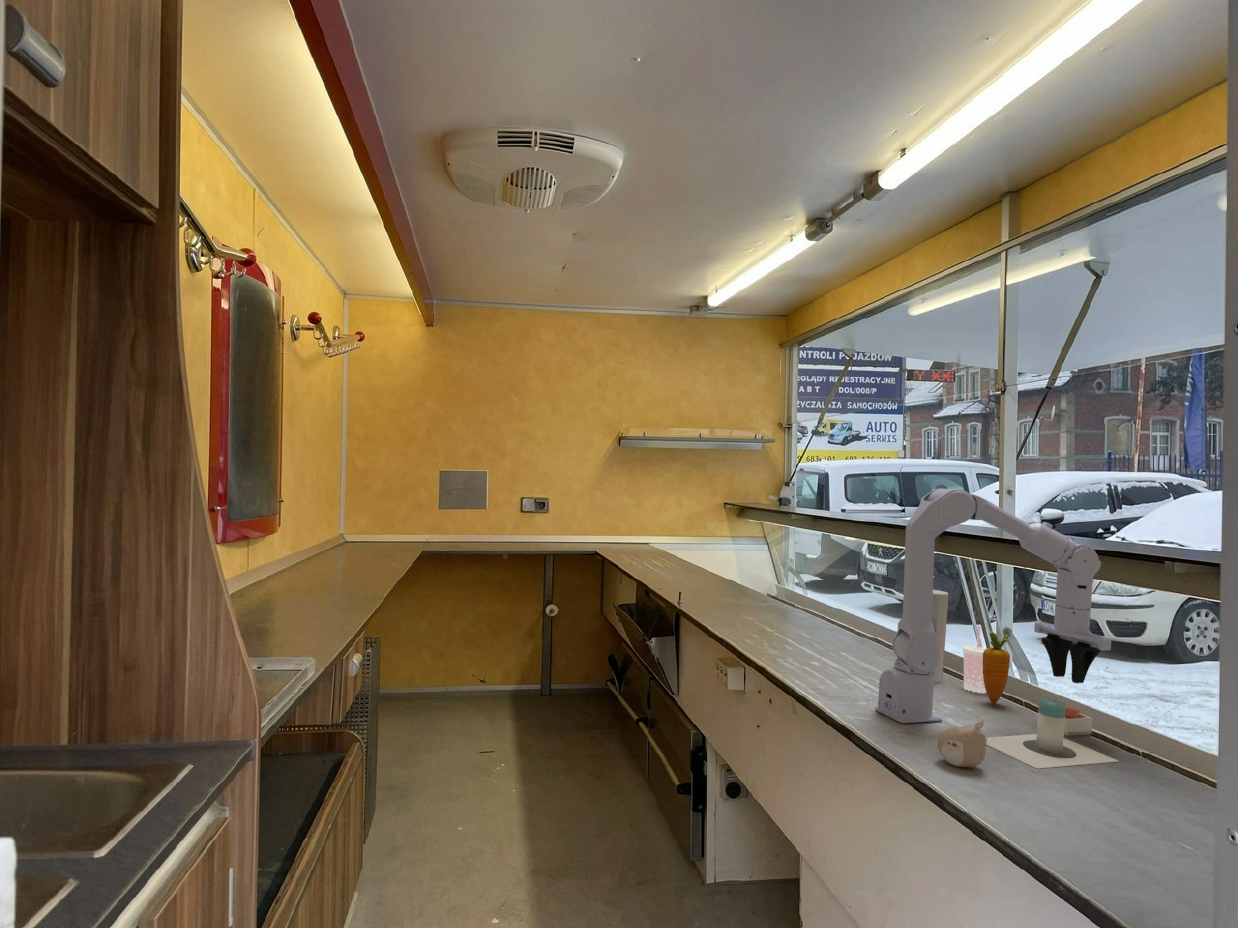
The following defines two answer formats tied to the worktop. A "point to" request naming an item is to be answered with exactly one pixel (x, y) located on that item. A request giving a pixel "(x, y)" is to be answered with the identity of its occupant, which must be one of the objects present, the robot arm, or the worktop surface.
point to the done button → (1071, 712)
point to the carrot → (995, 668)
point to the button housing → (1078, 725)
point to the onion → (963, 745)
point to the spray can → (939, 627)
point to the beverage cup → (974, 667)
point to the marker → (1050, 725)
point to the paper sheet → (1031, 755)
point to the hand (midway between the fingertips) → (1068, 679)
